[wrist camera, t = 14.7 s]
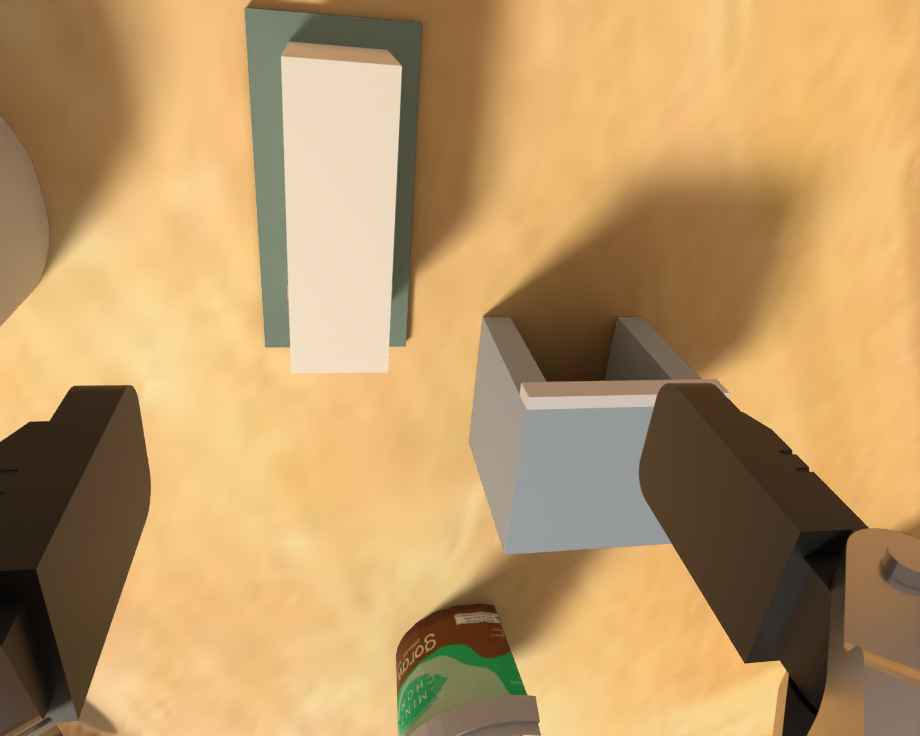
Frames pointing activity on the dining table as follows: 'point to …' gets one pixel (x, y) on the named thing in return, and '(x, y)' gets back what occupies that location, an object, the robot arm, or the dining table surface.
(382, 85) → the tall cream rectangular prism
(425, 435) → the dining table surface
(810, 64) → the dining table surface
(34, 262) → the lumpy-topped squat cylinder
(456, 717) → the food container
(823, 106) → the dining table surface
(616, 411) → the dispenser sleeve
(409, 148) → the rubber mat
